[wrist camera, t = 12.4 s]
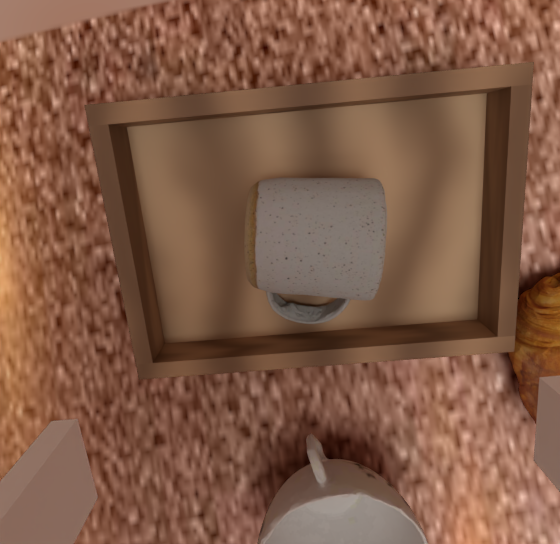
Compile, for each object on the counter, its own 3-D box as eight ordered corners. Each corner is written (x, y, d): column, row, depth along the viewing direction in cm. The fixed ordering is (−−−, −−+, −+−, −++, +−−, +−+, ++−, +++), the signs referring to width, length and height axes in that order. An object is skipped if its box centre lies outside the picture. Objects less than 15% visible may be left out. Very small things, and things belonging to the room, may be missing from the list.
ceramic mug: (251, 172, 30) (240, 183, 22) (370, 173, 30) (398, 184, 22) (253, 315, 33) (244, 365, 26) (360, 316, 33) (382, 367, 25)
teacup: (413, 528, 39) (444, 620, 31) (280, 553, 40) (279, 649, 32) (383, 385, 35) (411, 451, 28) (236, 417, 36) (223, 489, 28)
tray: (155, 353, 35) (138, 379, 31) (110, 110, 30) (84, 105, 26) (488, 328, 34) (514, 351, 30) (500, 73, 29) (533, 61, 25)
